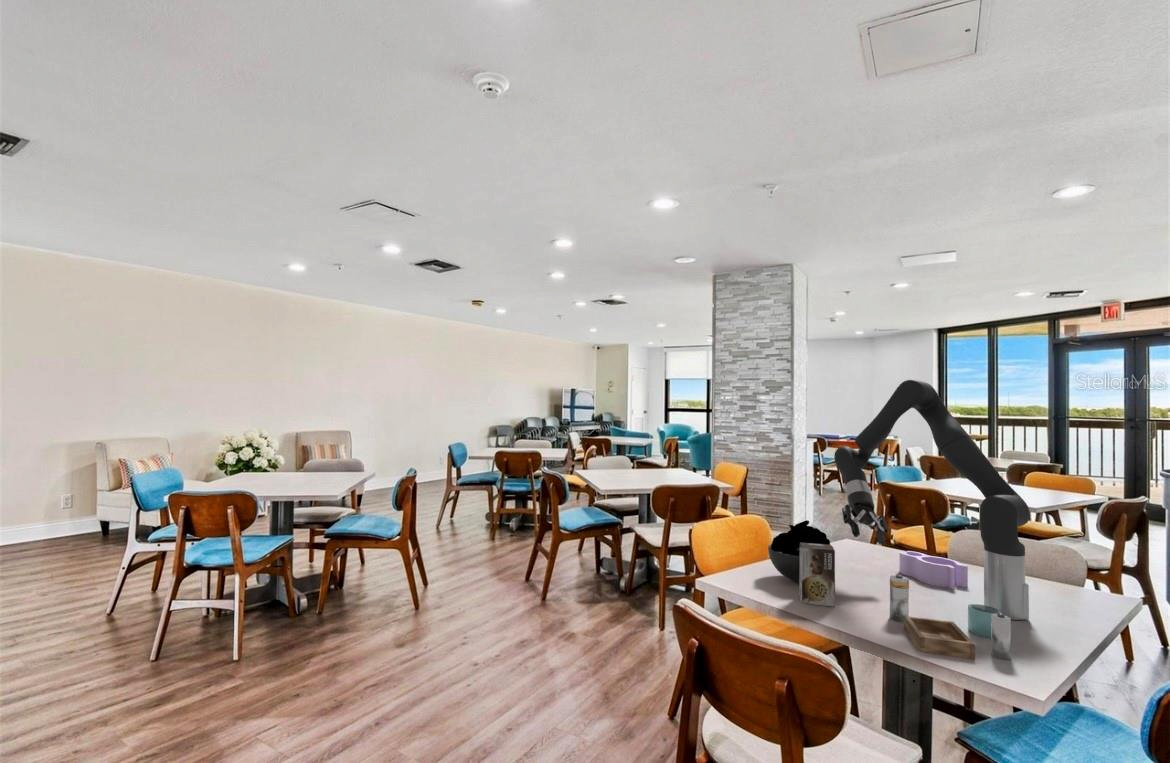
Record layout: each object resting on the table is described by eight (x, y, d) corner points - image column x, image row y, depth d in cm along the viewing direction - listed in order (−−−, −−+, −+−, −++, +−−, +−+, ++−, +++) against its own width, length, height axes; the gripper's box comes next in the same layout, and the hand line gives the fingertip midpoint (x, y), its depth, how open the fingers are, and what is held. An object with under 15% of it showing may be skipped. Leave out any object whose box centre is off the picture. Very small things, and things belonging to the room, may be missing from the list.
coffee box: (831, 600, 160) (832, 544, 161) (835, 607, 154) (836, 549, 155) (798, 596, 163) (799, 541, 164) (800, 603, 157) (801, 546, 157)
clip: (891, 572, 192) (891, 552, 192) (915, 569, 197) (915, 550, 197) (948, 590, 174) (948, 568, 174) (973, 587, 178) (973, 565, 179)
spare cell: (1006, 654, 127) (1006, 612, 127) (1013, 661, 123) (1013, 617, 124) (988, 651, 128) (988, 610, 128) (995, 658, 124) (995, 615, 125)
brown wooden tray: (953, 635, 137) (953, 621, 137) (974, 659, 124) (974, 644, 124) (903, 628, 140) (904, 615, 141) (919, 651, 127) (919, 636, 127)
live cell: (906, 617, 148) (906, 574, 149) (910, 623, 144) (911, 578, 145) (887, 615, 150) (888, 572, 150) (891, 620, 145) (892, 576, 146)
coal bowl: (803, 595, 164) (804, 531, 165) (754, 575, 182) (755, 518, 183) (847, 586, 173) (848, 527, 174) (796, 569, 191) (797, 515, 192)
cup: (994, 629, 142) (994, 605, 142) (1006, 640, 135) (1006, 615, 135) (963, 625, 144) (963, 602, 144) (974, 635, 137) (974, 611, 137)
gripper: (846, 484, 180) (856, 527, 169) (885, 496, 181) (898, 540, 170) (833, 496, 185) (841, 539, 174) (871, 508, 186) (882, 551, 175)
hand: (869, 539), depth 172 cm, fingers open, 8 cm apart
